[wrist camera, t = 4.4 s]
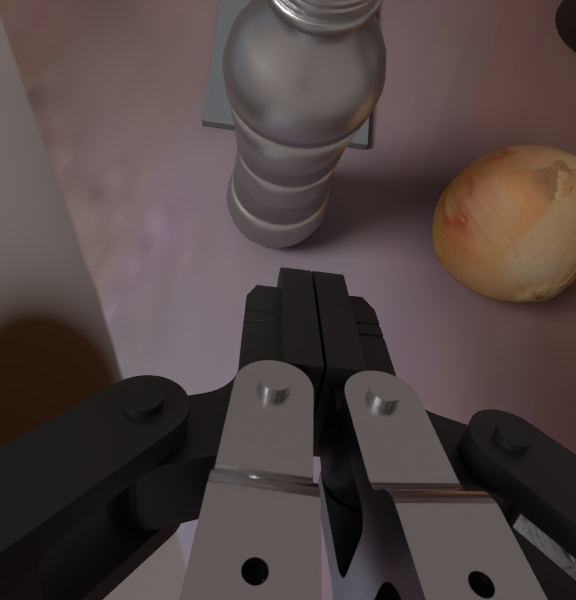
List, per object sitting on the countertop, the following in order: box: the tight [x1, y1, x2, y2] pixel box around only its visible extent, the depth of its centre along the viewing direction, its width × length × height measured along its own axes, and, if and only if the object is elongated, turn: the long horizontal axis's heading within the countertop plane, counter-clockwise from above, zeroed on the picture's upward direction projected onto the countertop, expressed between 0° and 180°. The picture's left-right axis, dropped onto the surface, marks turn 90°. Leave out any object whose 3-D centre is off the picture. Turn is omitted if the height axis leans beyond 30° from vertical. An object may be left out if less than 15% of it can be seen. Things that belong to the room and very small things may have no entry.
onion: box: [432, 145, 576, 302], centre depth 29 cm, size 10×10×10 cm
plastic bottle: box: [222, 0, 386, 248], centre depth 23 cm, size 6×7×20 cm
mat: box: [202, 0, 369, 149], centre depth 36 cm, size 18×12×1 cm, turn 175°
